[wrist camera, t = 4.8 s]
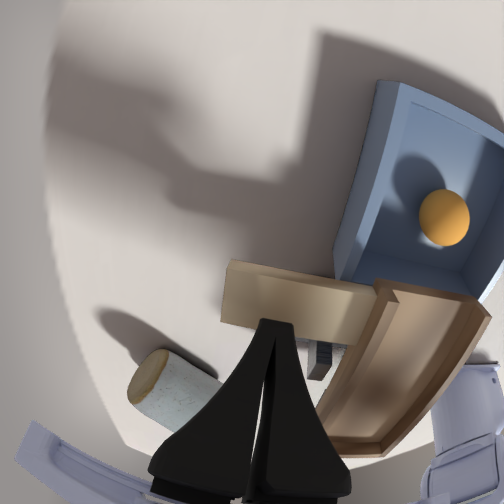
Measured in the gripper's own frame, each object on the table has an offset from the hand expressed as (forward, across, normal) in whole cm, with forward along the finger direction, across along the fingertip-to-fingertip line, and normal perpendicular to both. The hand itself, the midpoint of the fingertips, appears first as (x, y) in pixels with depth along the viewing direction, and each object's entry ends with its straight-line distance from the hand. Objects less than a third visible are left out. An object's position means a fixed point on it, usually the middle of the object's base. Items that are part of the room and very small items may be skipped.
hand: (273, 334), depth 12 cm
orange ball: (+5, -8, -5) cm, 11 cm away
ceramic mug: (+7, +8, +19) cm, 22 cm away
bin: (+7, -8, -6) cm, 12 cm away
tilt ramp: (+4, -4, +6) cm, 8 cm away
